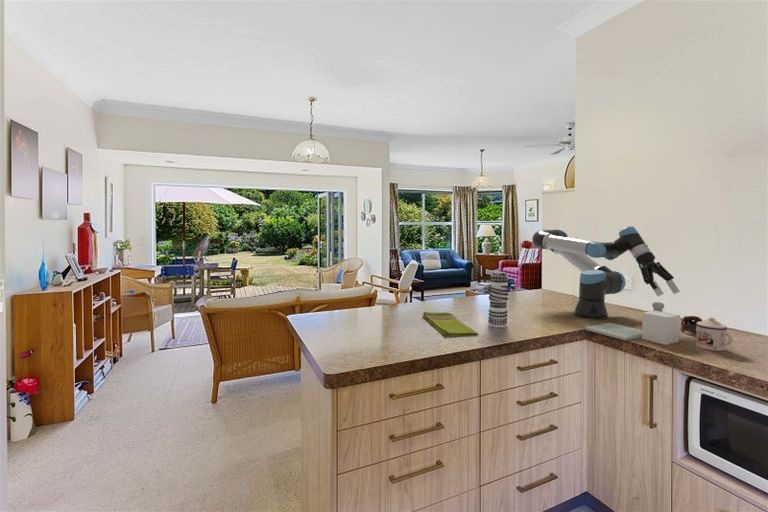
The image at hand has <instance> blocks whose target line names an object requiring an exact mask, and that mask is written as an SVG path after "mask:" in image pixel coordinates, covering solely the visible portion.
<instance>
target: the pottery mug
mask: <svg viewBox="0 0 768 512" xmlns="http://www.w3.org/2000/svg"><path fill="white" fill-rule="evenodd" d="M700 321H703V319H702V318H701V317H699V316H695V315H689V316H683V317H682V319H680V332H682V333H684V332H696V329H697V325H696V324H697V322H700Z"/></svg>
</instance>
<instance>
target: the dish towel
mask: <svg viewBox="0 0 768 512" xmlns="http://www.w3.org/2000/svg"><path fill="white" fill-rule="evenodd" d="M422 318H423V319H424V320H426V322H428V323H429V324H430V325H431V326H432V327H433V328H434V329H435V330H437V332H438V333H440V334H441V335H442V336H444V337H445V338H446V337H447V338H449V337H469V336H468V335H478V336H479V333H478V332H477V331H475V330H474V329H473V328H472V327H470V326H467V325H466V324H465V323H463V322H462V321H460V319H458V318H457V317H456V316H454V314H452V313H450V312H443V311H442V312H440V311H439V312H432V311H431V312H430V311H424V312H423V314H422Z"/></svg>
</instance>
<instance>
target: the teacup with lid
mask: <svg viewBox="0 0 768 512" xmlns="http://www.w3.org/2000/svg"><path fill="white" fill-rule="evenodd" d="M696 325H697V329H696V331H695V346H696V347H697V348H699V349H703V350H706V351H713V352H724V351H725V349H726V347H728V346H730V345H731V344H732V343H733V340H734V339H733V336H732V334H730V333H728V332H727V330H728V326H727V325H726V324H723V323H721V322H719V321H718V320H716V318H715V317H708V319H705V320H702V321H700V322H697V324H696ZM726 336H727V337H726ZM727 338H728V341H727V342H726V339H727Z"/></svg>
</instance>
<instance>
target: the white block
mask: <svg viewBox="0 0 768 512" xmlns="http://www.w3.org/2000/svg"><path fill="white" fill-rule="evenodd" d="M680 327H681V314H675V313H671V312H665V311H663V312H660V311H653V310H652V311H646V312H643V314H642V329H641V330H642V337H641V339H642V340H644V339H645V341H648V340H649V342H653V343H656V344H660V345H665V346H667V345H672V344H676V343H679V341H680V340H679V338H680ZM675 342H676V343H675ZM671 343H672V344H671Z"/></svg>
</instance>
